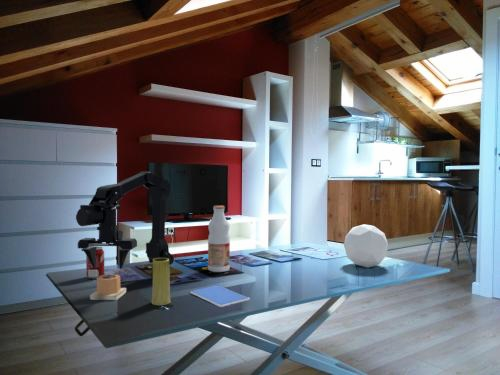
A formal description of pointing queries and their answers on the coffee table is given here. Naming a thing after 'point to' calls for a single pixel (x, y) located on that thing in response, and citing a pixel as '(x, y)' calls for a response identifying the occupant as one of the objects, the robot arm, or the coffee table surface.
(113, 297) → the shaft block
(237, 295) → the tablet computer
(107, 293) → the ring
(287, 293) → the coffee table surface
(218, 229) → the fruit juice
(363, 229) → the geometric polyhedron
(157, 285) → the vase
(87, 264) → the soda can
